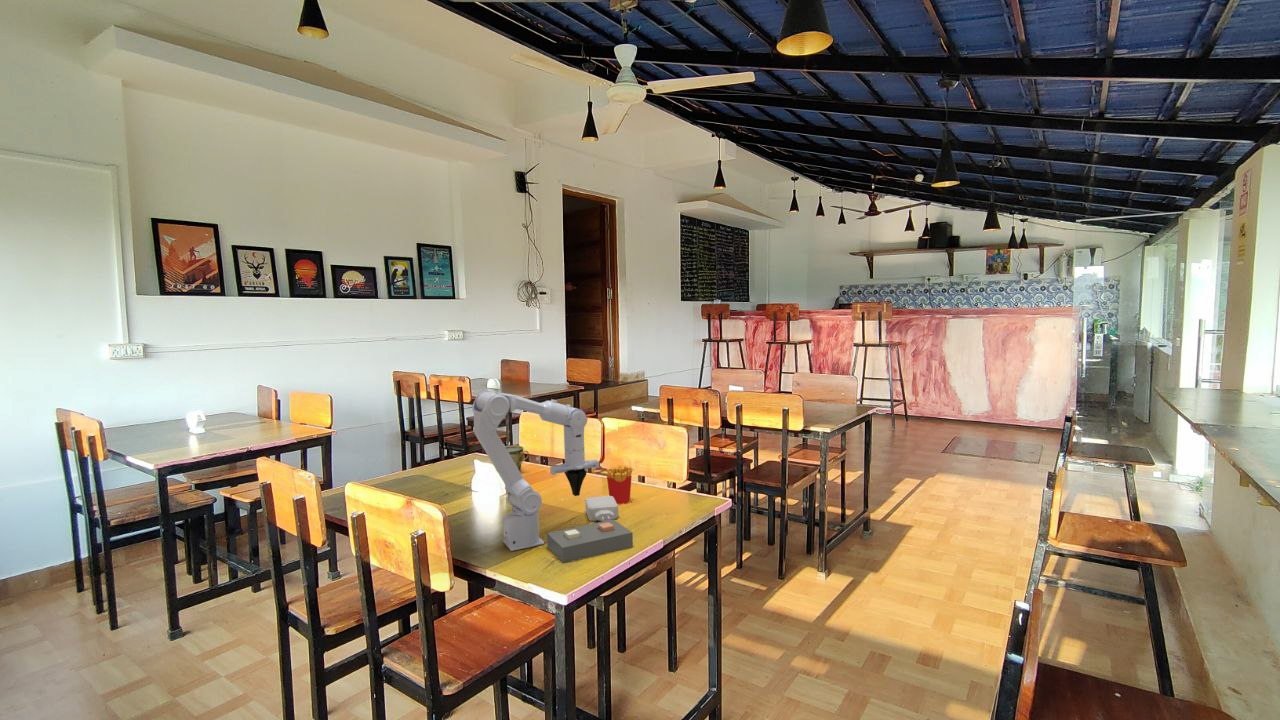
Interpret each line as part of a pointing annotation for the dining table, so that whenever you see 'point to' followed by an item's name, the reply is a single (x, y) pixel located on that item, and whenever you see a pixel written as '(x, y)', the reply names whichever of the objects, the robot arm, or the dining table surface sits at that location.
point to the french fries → (619, 483)
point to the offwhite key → (571, 534)
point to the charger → (601, 508)
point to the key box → (589, 541)
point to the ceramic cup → (516, 454)
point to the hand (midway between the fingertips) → (576, 494)
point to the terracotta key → (606, 527)
